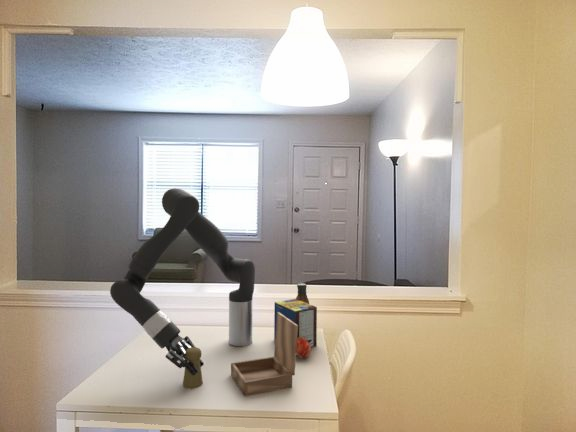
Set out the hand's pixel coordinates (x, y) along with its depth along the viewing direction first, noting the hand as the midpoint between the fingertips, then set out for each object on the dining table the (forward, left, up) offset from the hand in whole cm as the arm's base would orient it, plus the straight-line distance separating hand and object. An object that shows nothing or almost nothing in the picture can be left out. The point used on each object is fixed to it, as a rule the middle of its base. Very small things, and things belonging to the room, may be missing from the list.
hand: (198, 369), depth 127 cm
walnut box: (+5, +18, -5) cm, 20 cm away
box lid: (+5, +26, +7) cm, 27 cm away
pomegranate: (-8, +38, -5) cm, 39 cm away
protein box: (-22, +42, -5) cm, 48 cm away
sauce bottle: (-36, +52, -5) cm, 64 cm away
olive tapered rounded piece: (-1, -2, -5) cm, 5 cm away
